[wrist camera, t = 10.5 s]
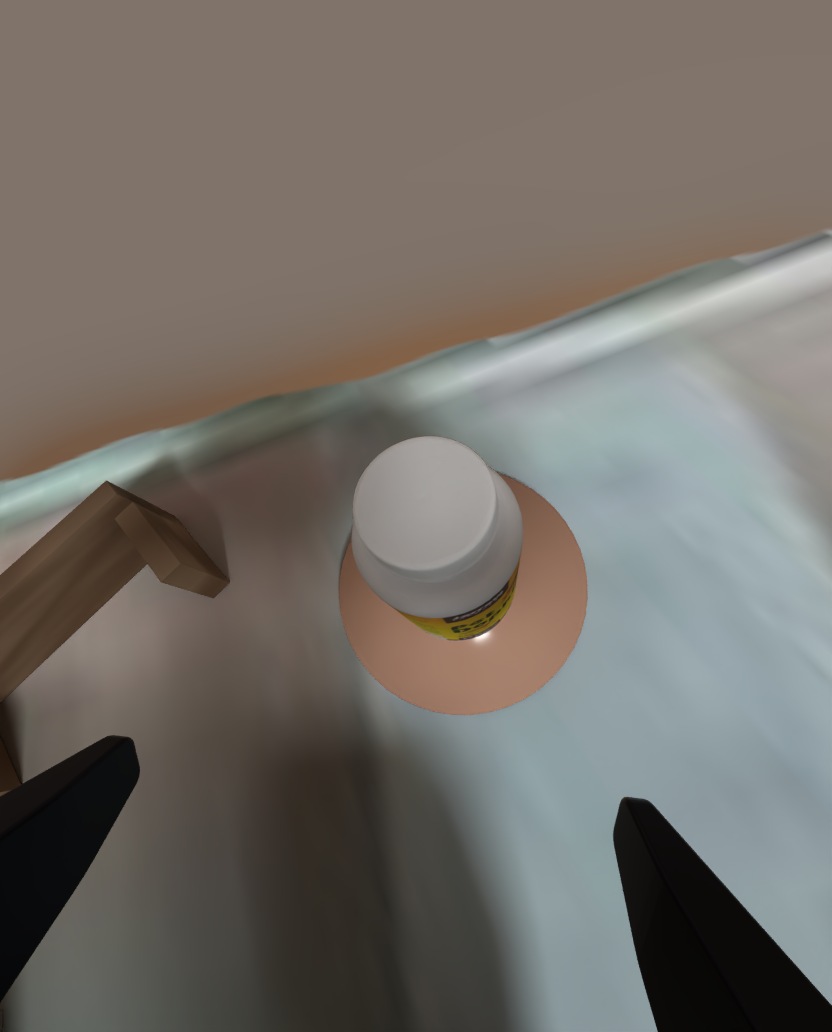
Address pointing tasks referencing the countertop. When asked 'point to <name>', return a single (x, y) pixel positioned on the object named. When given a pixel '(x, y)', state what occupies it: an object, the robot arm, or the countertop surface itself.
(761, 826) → the countertop surface
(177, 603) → the countertop surface
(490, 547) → the supplement bottle
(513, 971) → the countertop surface
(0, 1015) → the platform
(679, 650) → the countertop surface
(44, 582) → the open wooden frame
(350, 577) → the terracotta saucer
